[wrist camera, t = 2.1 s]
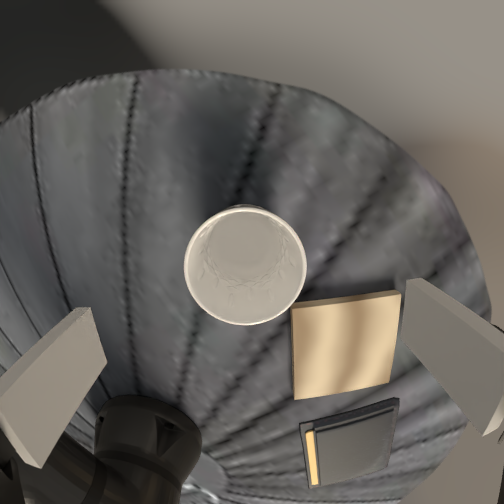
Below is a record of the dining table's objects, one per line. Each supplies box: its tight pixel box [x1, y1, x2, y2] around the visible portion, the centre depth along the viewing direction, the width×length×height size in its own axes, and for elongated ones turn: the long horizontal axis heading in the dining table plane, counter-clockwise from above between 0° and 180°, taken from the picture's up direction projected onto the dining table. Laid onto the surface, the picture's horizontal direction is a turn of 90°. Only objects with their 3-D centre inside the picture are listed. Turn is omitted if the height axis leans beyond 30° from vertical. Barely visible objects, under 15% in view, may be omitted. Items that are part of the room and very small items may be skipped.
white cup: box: [184, 204, 306, 325], centre depth 24 cm, size 8×8×10 cm
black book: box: [299, 397, 399, 489], centre depth 37 cm, size 20×2×15 cm
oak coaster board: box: [290, 290, 401, 400], centre depth 31 cm, size 12×12×2 cm
